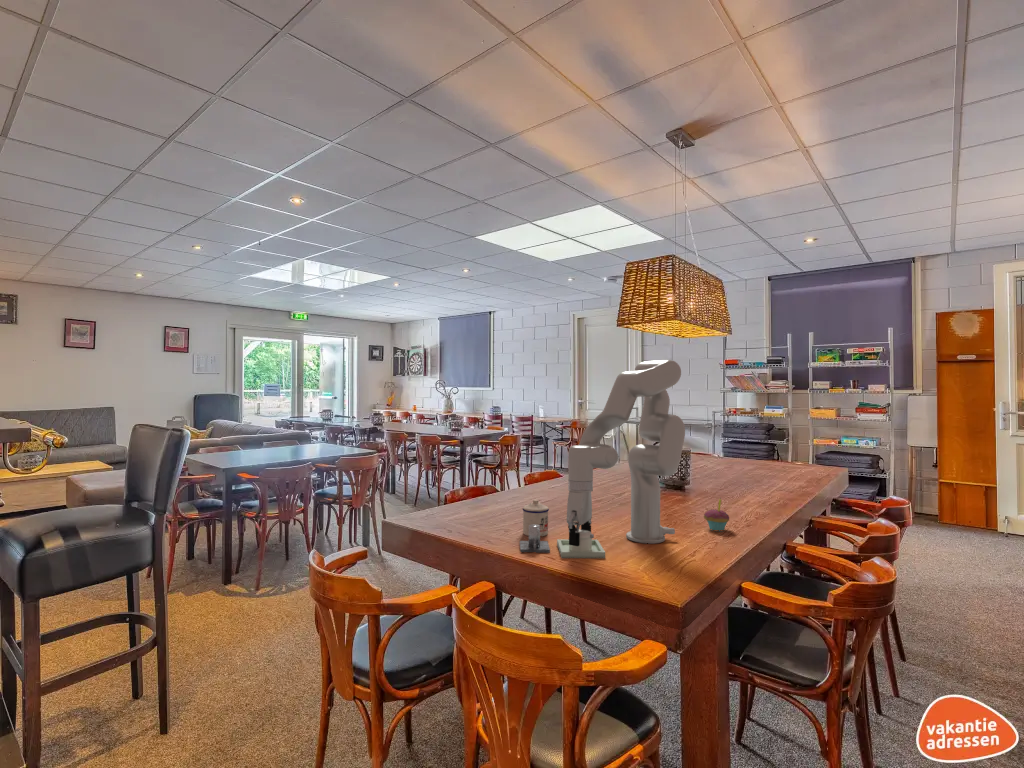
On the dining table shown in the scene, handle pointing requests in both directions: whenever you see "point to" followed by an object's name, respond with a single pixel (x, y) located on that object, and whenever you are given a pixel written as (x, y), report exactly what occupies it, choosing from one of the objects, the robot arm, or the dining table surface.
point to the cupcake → (717, 518)
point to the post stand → (534, 541)
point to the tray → (567, 553)
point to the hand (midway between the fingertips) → (580, 541)
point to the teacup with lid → (535, 517)
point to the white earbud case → (583, 541)
